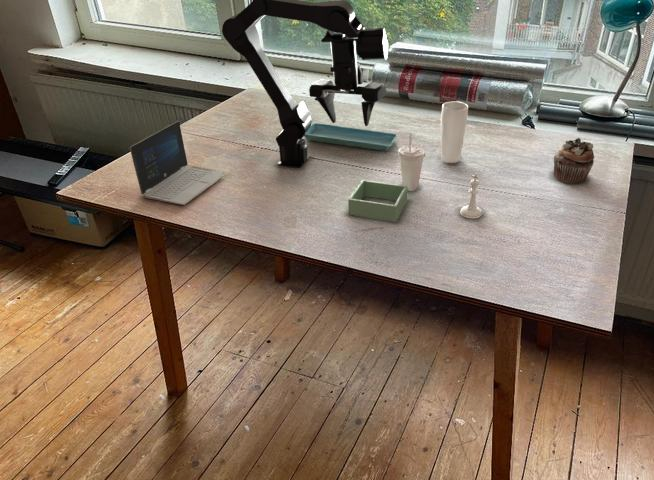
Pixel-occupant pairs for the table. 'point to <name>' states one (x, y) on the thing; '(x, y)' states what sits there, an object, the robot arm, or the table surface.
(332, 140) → the shallow long dish
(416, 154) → the smoothie
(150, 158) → the laptop
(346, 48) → the robot arm
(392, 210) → the green open tray
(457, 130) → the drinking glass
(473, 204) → the chess piece
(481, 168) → the table surface
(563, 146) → the cupcake
